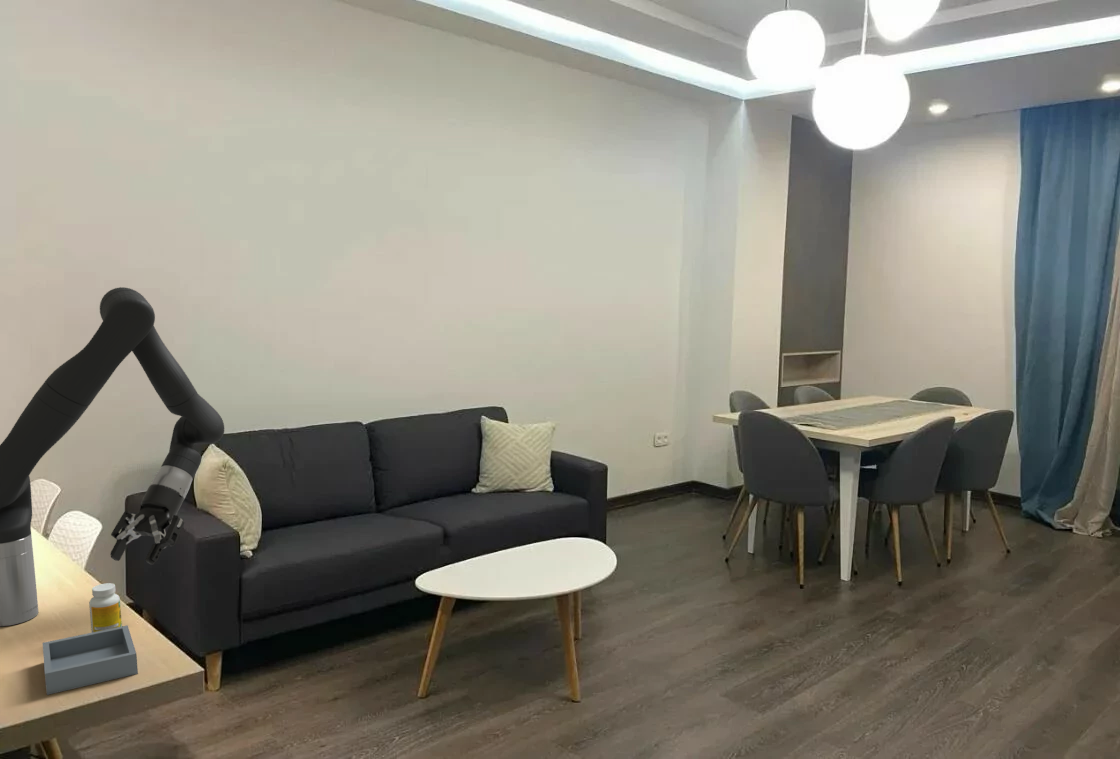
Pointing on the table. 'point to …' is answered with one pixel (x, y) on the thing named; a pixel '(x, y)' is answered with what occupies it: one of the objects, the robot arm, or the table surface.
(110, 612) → the supplement bottle
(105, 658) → the tray
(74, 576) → the table surface
